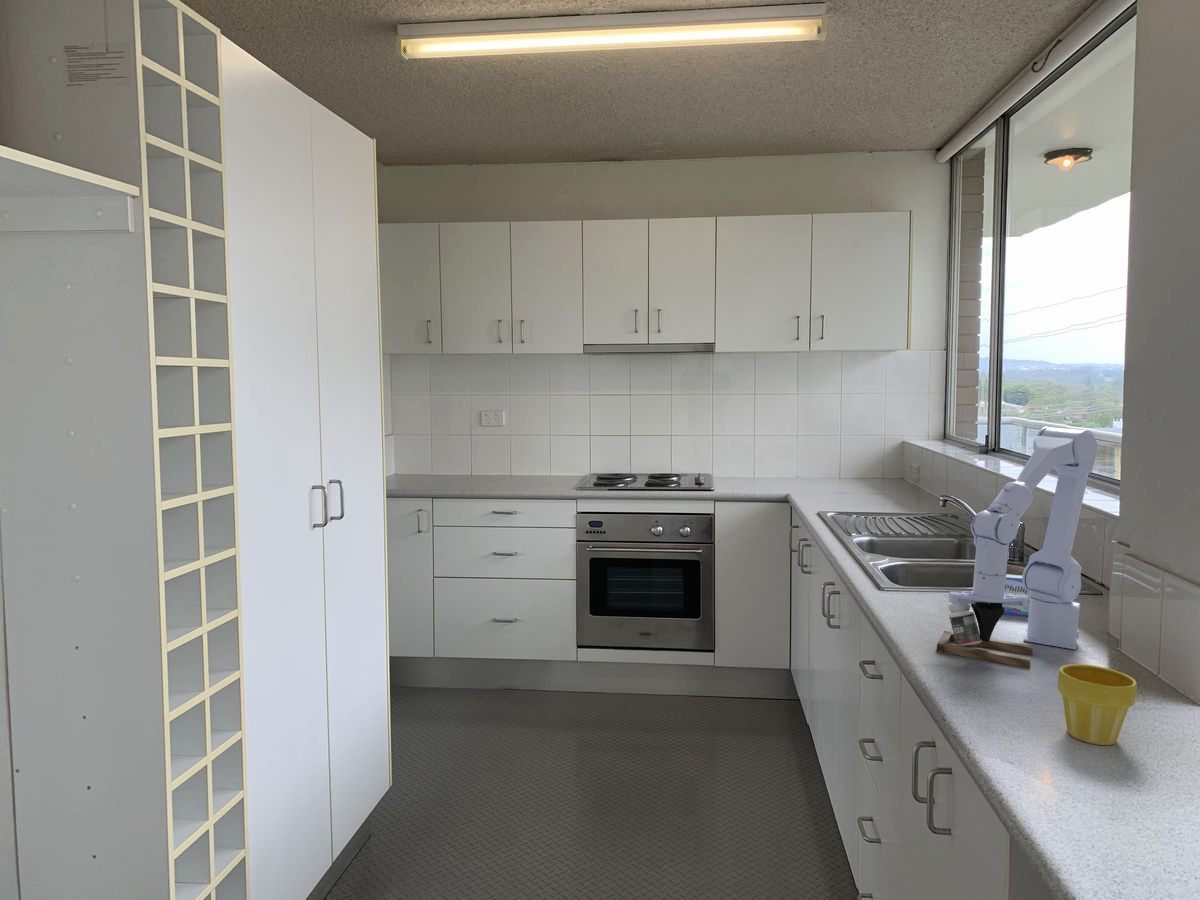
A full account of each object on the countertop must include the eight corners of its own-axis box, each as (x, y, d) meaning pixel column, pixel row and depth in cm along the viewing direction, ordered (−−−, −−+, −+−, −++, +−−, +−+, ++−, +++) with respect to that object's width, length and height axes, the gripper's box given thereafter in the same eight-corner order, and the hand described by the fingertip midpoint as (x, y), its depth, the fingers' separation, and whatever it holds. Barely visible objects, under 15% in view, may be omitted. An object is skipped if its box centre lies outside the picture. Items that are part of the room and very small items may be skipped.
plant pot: (1086, 718, 142) (1092, 660, 141) (1146, 746, 133) (1153, 683, 132) (1038, 726, 138) (1043, 666, 137) (1096, 755, 129) (1102, 690, 128)
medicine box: (998, 614, 202) (1001, 576, 201) (994, 608, 206) (997, 572, 205) (1035, 617, 200) (1039, 580, 199) (1031, 612, 204) (1034, 575, 203)
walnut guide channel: (1032, 653, 174) (1033, 645, 174) (1029, 668, 165) (1030, 660, 165) (943, 637, 182) (944, 630, 182) (936, 651, 173) (937, 643, 173)
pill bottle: (952, 647, 177) (941, 605, 179) (972, 642, 178) (961, 601, 180) (966, 646, 173) (954, 603, 175) (987, 641, 174) (975, 599, 176)
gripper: (1018, 569, 176) (1013, 635, 177) (945, 566, 176) (940, 632, 178) (1034, 578, 169) (1028, 646, 170) (958, 574, 169) (952, 643, 171)
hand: (984, 640), depth 174 cm, fingers closed
